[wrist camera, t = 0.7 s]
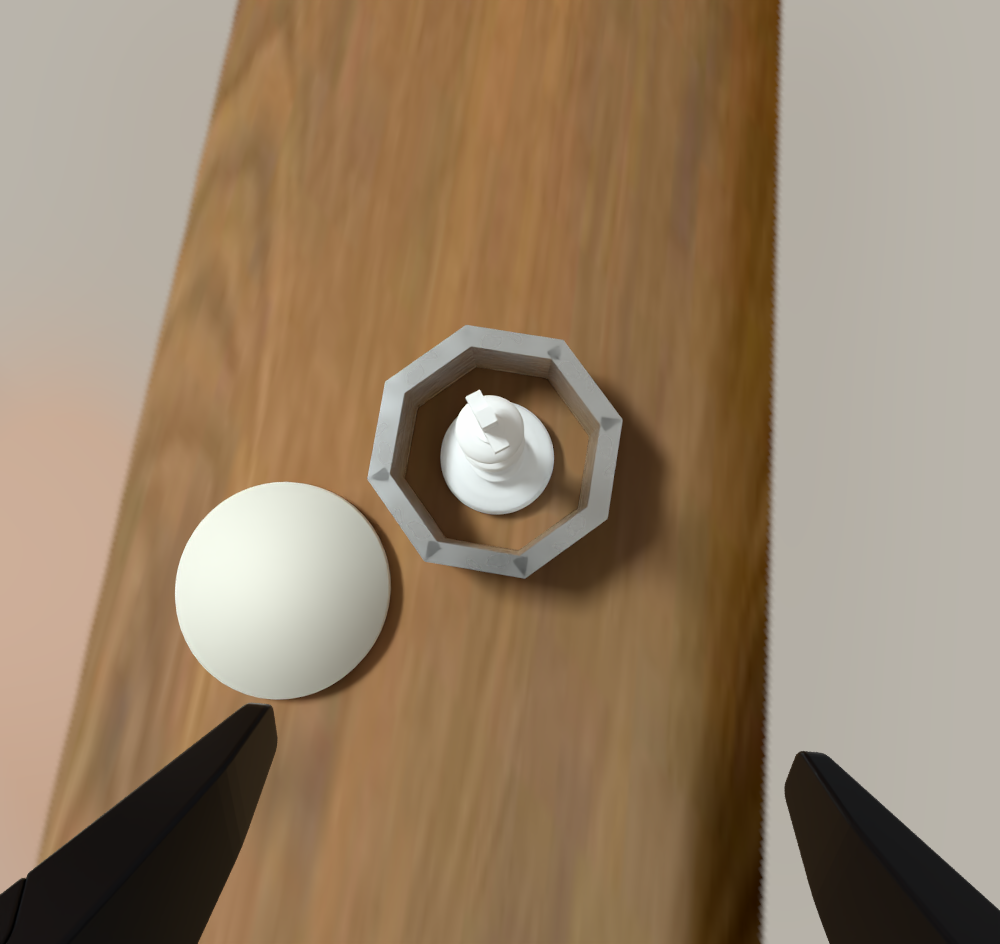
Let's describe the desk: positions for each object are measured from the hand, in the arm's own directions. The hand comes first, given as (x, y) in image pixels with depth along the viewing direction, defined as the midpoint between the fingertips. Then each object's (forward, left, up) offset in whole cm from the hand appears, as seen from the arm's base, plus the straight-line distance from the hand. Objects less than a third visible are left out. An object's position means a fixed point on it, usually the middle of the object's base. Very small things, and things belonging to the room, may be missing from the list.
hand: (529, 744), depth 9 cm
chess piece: (+6, +2, -14) cm, 16 cm away
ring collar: (+6, +2, -14) cm, 15 cm away
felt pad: (-1, +10, -14) cm, 17 cm away
